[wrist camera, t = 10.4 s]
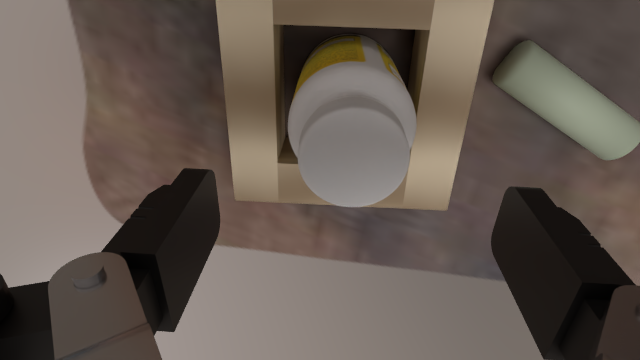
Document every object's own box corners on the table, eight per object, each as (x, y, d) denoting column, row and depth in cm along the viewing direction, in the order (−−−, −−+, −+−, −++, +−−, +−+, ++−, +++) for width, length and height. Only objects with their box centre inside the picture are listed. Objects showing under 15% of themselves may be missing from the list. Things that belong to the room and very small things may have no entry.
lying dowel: (505, 90, 20) (543, 43, 19) (485, 79, 22) (519, 37, 21) (614, 167, 21) (655, 128, 20) (585, 149, 24) (620, 114, 23)
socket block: (232, -42, 19) (211, -42, 16) (476, -35, 19) (501, -33, 16) (247, 171, 25) (234, 200, 22) (433, 179, 25) (446, 210, 22)
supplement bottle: (287, 106, 23) (255, 192, 15) (323, 15, 21) (310, 55, 12) (369, 140, 24) (386, 241, 15) (414, 57, 21) (463, 123, 13)
